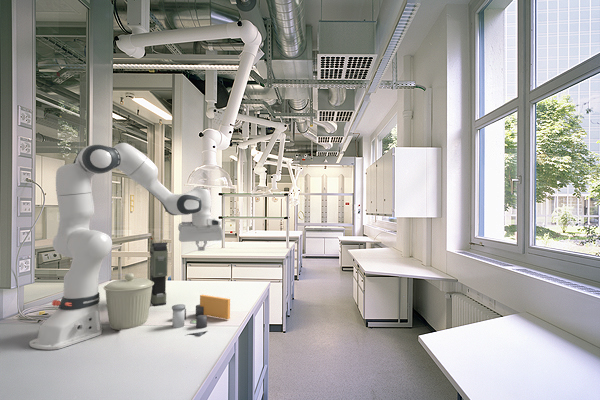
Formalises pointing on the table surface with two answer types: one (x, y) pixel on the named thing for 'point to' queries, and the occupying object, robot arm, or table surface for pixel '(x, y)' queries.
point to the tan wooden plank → (213, 307)
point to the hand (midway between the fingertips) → (201, 250)
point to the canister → (128, 301)
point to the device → (158, 273)
